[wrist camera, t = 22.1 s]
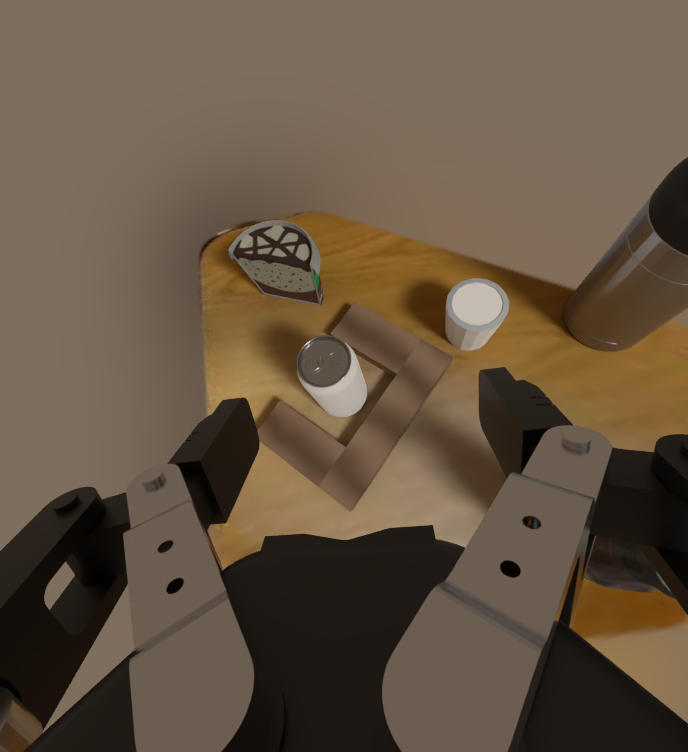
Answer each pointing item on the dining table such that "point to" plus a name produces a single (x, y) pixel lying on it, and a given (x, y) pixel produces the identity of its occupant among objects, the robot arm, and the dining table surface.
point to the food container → (280, 261)
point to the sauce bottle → (623, 567)
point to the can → (332, 375)
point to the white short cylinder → (474, 312)
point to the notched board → (381, 427)
